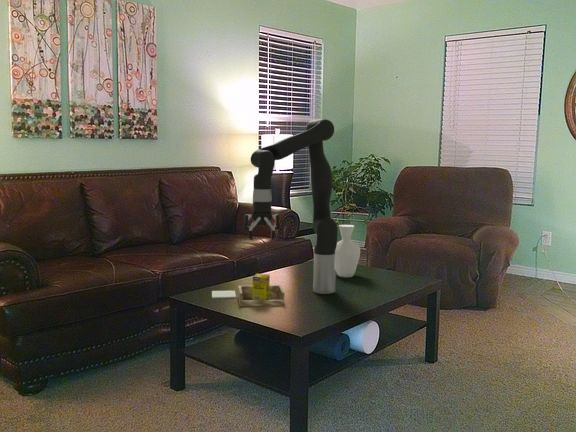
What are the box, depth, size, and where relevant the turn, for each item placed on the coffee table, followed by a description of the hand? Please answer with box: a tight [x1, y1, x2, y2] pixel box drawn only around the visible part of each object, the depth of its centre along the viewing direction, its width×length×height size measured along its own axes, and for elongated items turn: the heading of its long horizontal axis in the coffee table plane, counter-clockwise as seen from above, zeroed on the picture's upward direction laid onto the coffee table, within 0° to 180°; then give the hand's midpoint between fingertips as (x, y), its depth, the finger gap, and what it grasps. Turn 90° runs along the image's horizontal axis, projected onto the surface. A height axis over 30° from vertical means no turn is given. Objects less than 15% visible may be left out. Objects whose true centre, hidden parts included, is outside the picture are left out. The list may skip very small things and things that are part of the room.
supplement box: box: [251, 273, 270, 300], centre depth 234 cm, size 6×6×11 cm
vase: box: [335, 224, 361, 278], centre depth 282 cm, size 14×14×25 cm
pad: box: [211, 290, 237, 300], centre depth 243 cm, size 10×10×1 cm
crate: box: [237, 284, 286, 307], centre depth 234 cm, size 18×13×5 cm
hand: (261, 239), depth 231 cm, fingers open, 8 cm apart
